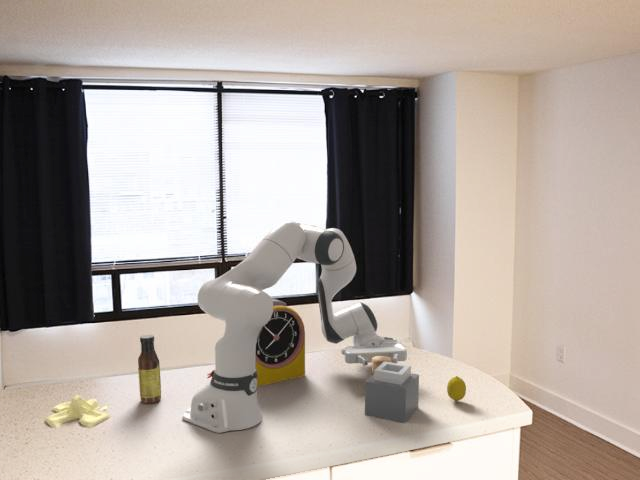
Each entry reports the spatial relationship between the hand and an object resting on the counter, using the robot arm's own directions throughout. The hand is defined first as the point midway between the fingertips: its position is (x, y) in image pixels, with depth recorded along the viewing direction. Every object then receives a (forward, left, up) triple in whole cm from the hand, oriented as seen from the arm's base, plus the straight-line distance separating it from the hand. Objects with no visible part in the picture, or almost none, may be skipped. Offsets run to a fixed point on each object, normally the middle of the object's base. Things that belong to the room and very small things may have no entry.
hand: (380, 362), depth 193 cm
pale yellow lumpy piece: (-71, -54, -10) cm, 90 cm away
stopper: (+1, -2, -9) cm, 10 cm away
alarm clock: (-36, -5, -9) cm, 38 cm away
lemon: (+24, +2, -9) cm, 26 cm away
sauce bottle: (-59, -38, -9) cm, 71 cm away
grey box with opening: (+9, -13, -9) cm, 18 cm away
